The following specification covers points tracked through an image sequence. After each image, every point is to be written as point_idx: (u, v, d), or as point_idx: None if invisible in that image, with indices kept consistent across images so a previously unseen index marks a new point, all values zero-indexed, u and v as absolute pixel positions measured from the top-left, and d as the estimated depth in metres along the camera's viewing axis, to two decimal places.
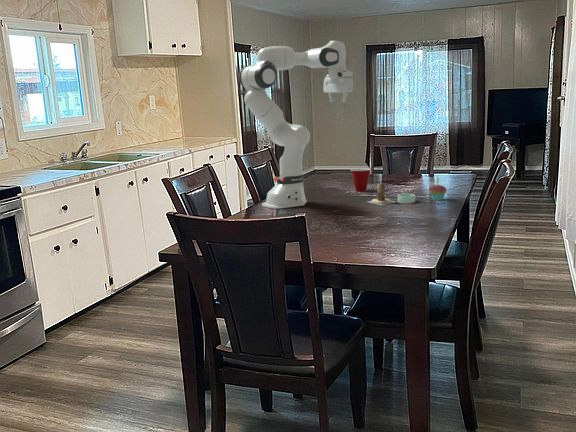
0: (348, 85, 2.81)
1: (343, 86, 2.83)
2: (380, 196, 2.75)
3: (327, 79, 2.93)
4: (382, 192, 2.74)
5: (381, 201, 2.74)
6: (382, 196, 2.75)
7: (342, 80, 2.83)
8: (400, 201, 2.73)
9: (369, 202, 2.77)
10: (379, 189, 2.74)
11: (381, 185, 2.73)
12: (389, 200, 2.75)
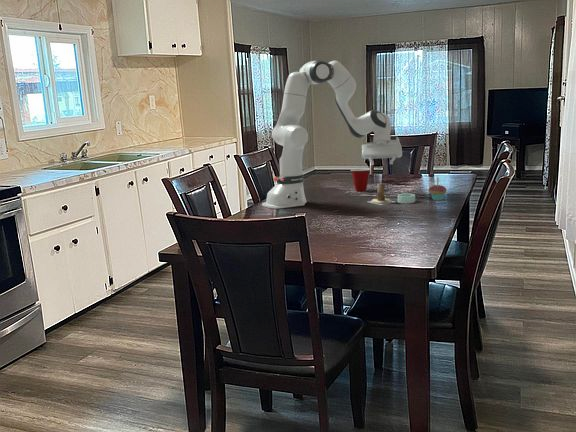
0: (401, 148, 2.87)
1: (395, 149, 2.86)
2: (380, 196, 2.75)
3: (369, 144, 2.91)
4: (382, 192, 2.74)
5: (381, 201, 2.74)
6: (382, 196, 2.75)
7: (394, 144, 2.88)
8: (400, 201, 2.73)
9: (369, 202, 2.77)
10: (379, 189, 2.74)
11: (381, 185, 2.73)
12: (389, 200, 2.75)
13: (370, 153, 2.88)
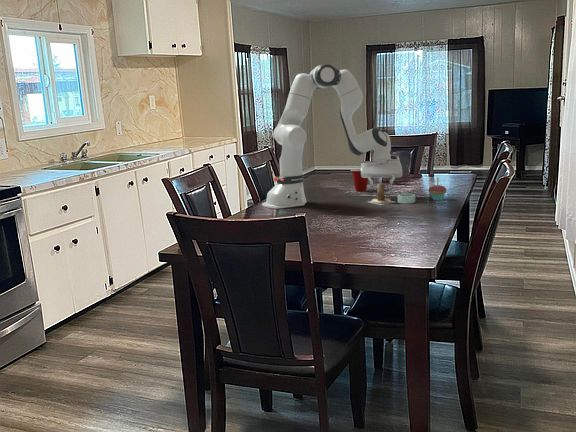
0: (401, 168, 2.80)
1: (395, 168, 2.80)
2: (380, 196, 2.75)
3: (369, 163, 2.84)
4: (382, 192, 2.74)
5: (381, 201, 2.74)
6: (382, 196, 2.75)
7: (394, 163, 2.81)
8: (400, 201, 2.73)
9: (369, 202, 2.77)
10: (379, 189, 2.74)
11: (381, 185, 2.73)
12: (389, 200, 2.75)
13: (370, 172, 2.81)
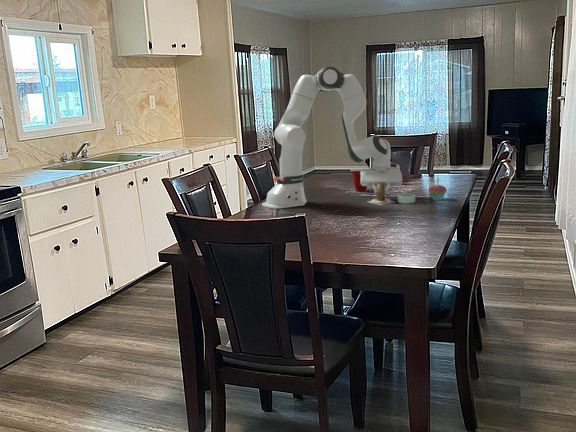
0: (401, 176, 2.76)
1: (395, 176, 2.76)
2: (380, 196, 2.75)
3: (368, 170, 2.81)
4: (382, 192, 2.74)
5: (381, 201, 2.74)
6: (382, 196, 2.75)
7: (394, 171, 2.78)
8: (400, 201, 2.73)
9: (369, 202, 2.77)
10: (379, 189, 2.74)
11: (381, 185, 2.73)
12: (389, 200, 2.75)
13: (369, 180, 2.78)
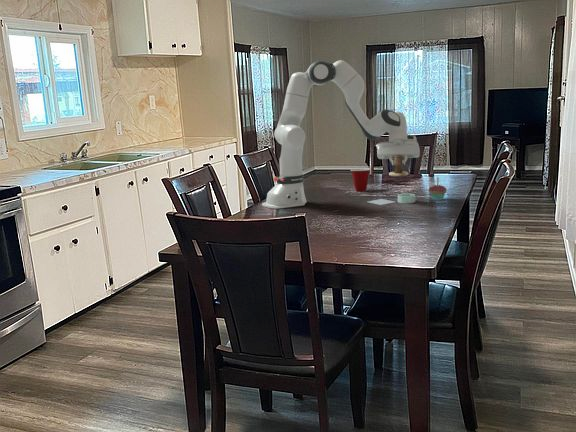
0: None
1: (412, 148, 2.72)
2: (398, 168, 2.71)
3: (385, 143, 2.77)
4: (400, 164, 2.70)
5: (399, 173, 2.70)
6: (400, 168, 2.71)
7: (411, 143, 2.74)
8: (400, 201, 2.73)
9: (369, 202, 2.77)
10: (396, 161, 2.70)
11: (398, 157, 2.70)
12: (407, 172, 2.71)
13: (386, 153, 2.74)
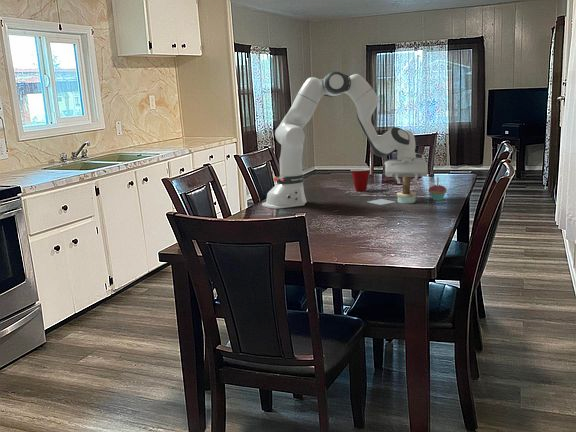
0: (427, 167, 2.74)
1: (420, 167, 2.74)
2: (405, 189, 2.72)
3: (393, 161, 2.78)
4: (407, 185, 2.72)
5: (406, 194, 2.71)
6: (407, 189, 2.72)
7: (419, 162, 2.75)
8: (400, 201, 2.73)
9: (369, 202, 2.77)
10: (404, 182, 2.72)
11: (407, 178, 2.71)
12: (414, 193, 2.73)
13: (394, 171, 2.75)
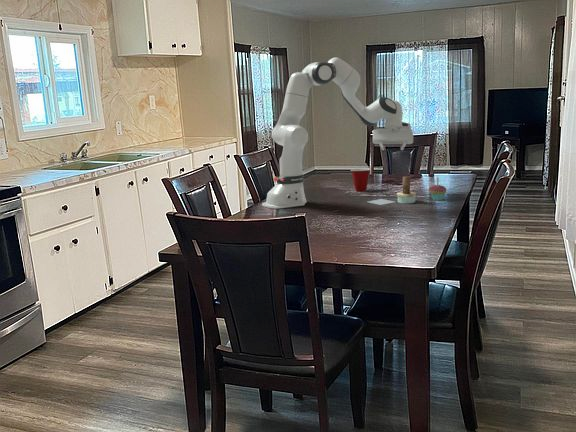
0: None
1: (406, 135, 2.86)
2: (405, 189, 2.72)
3: (380, 129, 2.90)
4: (407, 185, 2.72)
5: (406, 194, 2.71)
6: (407, 189, 2.72)
7: (405, 130, 2.87)
8: (400, 201, 2.73)
9: (369, 202, 2.77)
10: (404, 182, 2.72)
11: (407, 178, 2.71)
12: (414, 193, 2.73)
13: (381, 138, 2.87)
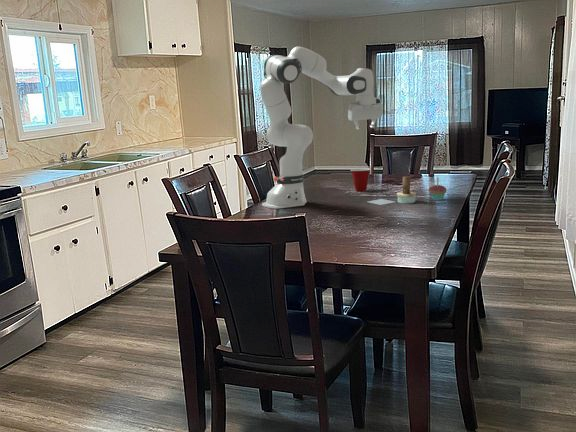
0: None
1: (377, 112, 2.92)
2: (405, 189, 2.72)
3: (358, 106, 2.84)
4: (407, 185, 2.72)
5: (406, 194, 2.71)
6: (407, 189, 2.72)
7: (377, 106, 2.90)
8: (400, 201, 2.73)
9: (369, 202, 2.77)
10: (404, 182, 2.72)
11: (407, 178, 2.71)
12: (414, 193, 2.73)
13: (359, 118, 2.85)
